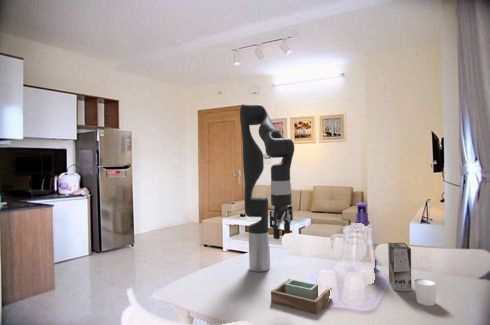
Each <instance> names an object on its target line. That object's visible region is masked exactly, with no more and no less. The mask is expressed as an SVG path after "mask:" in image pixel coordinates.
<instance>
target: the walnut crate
mask: <svg viewBox="0 0 490 325" xmlns="http://www.w3.org/2000/svg"><path fill="white" fill-rule="evenodd" d="M292 279H293V278H292ZM292 279H291V278H288V279H286V280H285V281H284V282H282V283H280V284H279V285H277V286H276V287H275V288H274V289H272V290H271V291H270V303H272V304H276V305H279V306H283V307H287V308H291V309H295V310H299V311H302V312H304V313H305V312H306V313H310V314H314V315H317V314H319V312H320V311H321V310H322V309H323V308H324V307H325V306H326V305H327V304H328V303H329V302H328V300H329V296H330V289H331V290H332V287H331V288H330V289H326V290H325V291H324V292H323V293H322V294H321V295H320V296H319V297H318V298H316V299H315V300H311V299H307V298H302V297H298V296H294V295H290V294H286V292H285V284H286V283H288V282H289V281H290V280H292ZM327 302H328V303H327ZM326 303H327V304H326Z"/></svg>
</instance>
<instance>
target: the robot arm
mask: <svg viewBox="0 0 490 325" xmlns="http://www.w3.org/2000/svg"><path fill="white" fill-rule="evenodd" d="M239 121H240V122H239V123H240V129H241V140H242V163H243V164H242V166H243V177H244V178H243V181H244V213H245V216H246V217H247V218H260V220H258V221H256V222H255V223H251V224H249V225H248V259H249V260H248V261H249V262H248V263H249V264H248V265H249V266H248V267H249V270H250V271H251V272H257V273H258V272H259V273H260V272H261V273H263V272H267V271H269V270H270V267H271V252H270V251H271V248H270V243H269V242H270V239H269V236H270V235H269V229H270V228H272V229H273V232H272V233H273V239H274V240H279V239H280V238H281V231H280V227H281V224H283V232H284V234H287V235H288V234H290V233H291V223H292V222H293V220H294V212H293V205H292V184H291V166H292V162H293V157H294V152H295V144H294V142H293V140H292V139H291V138H289V137H288V138H286V137H284V138H282V135H281V133H280V131H279V130H278V129H277V128H276V127H275V126H274V123H273V122H272V120H271V118H270V115H269V113H268V112H267V110H266V108H265V106H264V105H263V104H259V103H253V104H252V103H251V104H242V105H241V106H240V109H239ZM250 126H259V127H258V136H259V138H260V139H261V140H262V141H263V143H264V148H265V149H264V150H265V153H266V155H267V156H268V157H270V158H272V159H273V158H275V159H276V158H277V159H278V158H281V161H280V162H279V163H275V164H273V165H271V167H270V204H271V206H272V207H274V210H270V211H269V199H268V197H266V196H253V190H254V188H255V186H256V184H257V182H258V180H259V178H260V177H261V175H262V173H263V172H264V168H265V165H264V162H265V161H264V154H263V151H262V149H261V147H260V146H259V144H258V143H257V142H256V140H255V139H254V137H253V136H252V133H251V128H250Z"/></svg>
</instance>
